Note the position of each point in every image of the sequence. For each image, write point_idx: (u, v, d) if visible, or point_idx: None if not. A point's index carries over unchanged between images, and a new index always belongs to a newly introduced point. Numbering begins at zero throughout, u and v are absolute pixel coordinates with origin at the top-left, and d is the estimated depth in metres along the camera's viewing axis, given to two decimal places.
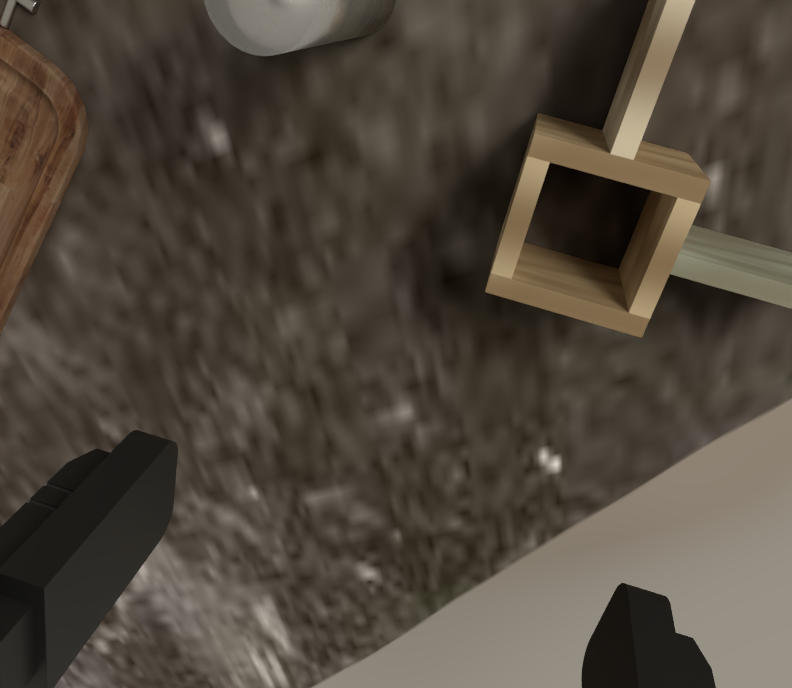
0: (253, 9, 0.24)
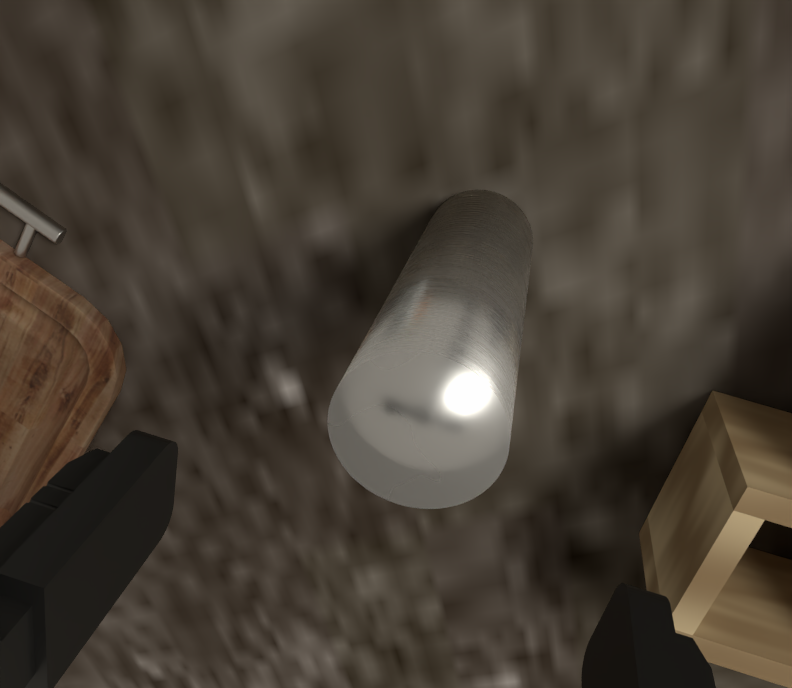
0: (405, 455, 0.16)
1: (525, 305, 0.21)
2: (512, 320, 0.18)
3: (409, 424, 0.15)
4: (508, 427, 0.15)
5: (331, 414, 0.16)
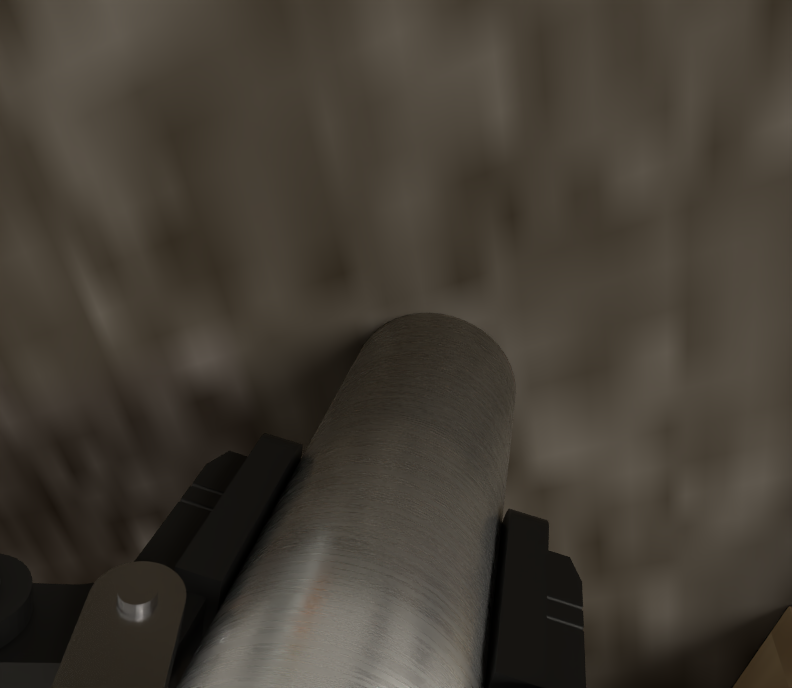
0: None
1: None
2: (462, 679, 0.09)
3: None
4: None
5: None
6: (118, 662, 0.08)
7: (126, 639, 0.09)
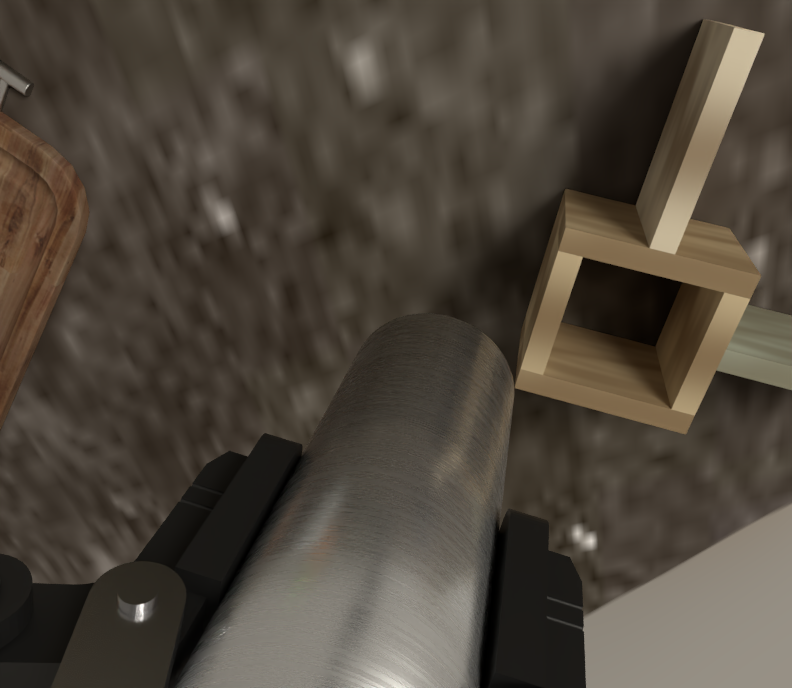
0: None
1: (494, 566, 0.12)
2: (458, 678, 0.09)
3: None
4: None
5: None
6: (118, 662, 0.08)
7: (126, 638, 0.09)
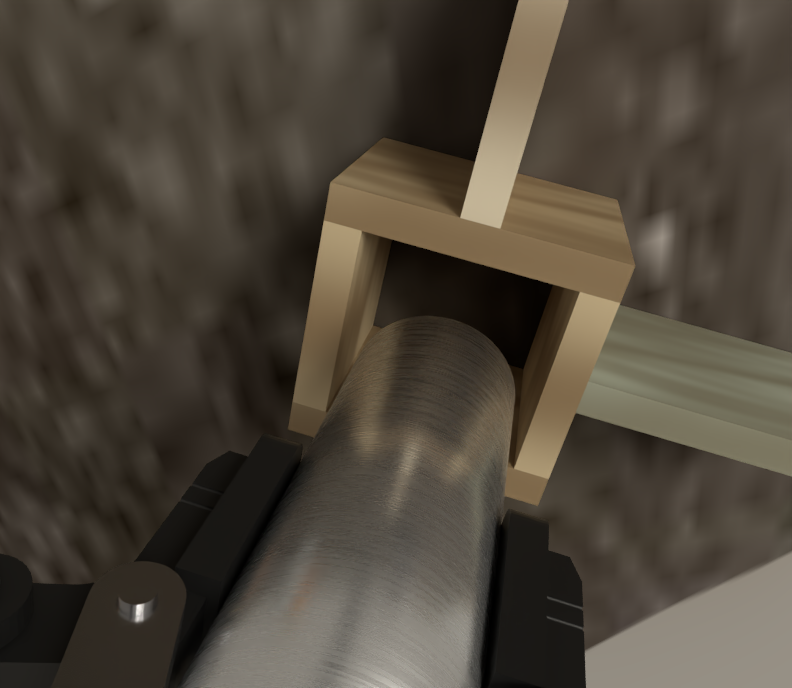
0: None
1: None
2: (461, 682, 0.09)
3: None
4: None
5: None
6: (118, 662, 0.08)
7: (126, 638, 0.09)
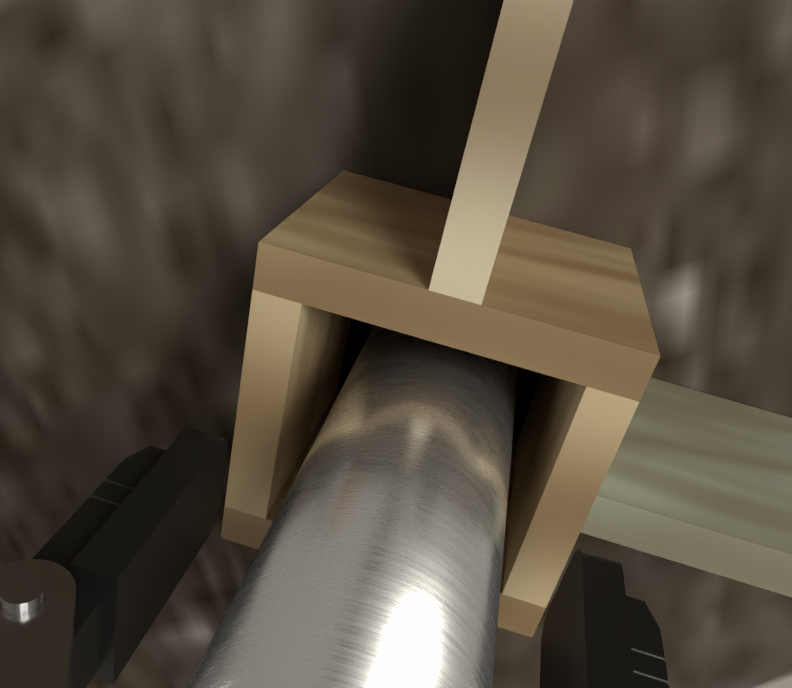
0: None
1: (510, 462, 0.14)
2: (489, 524, 0.12)
3: None
4: None
5: None
6: None
7: (17, 638, 0.08)
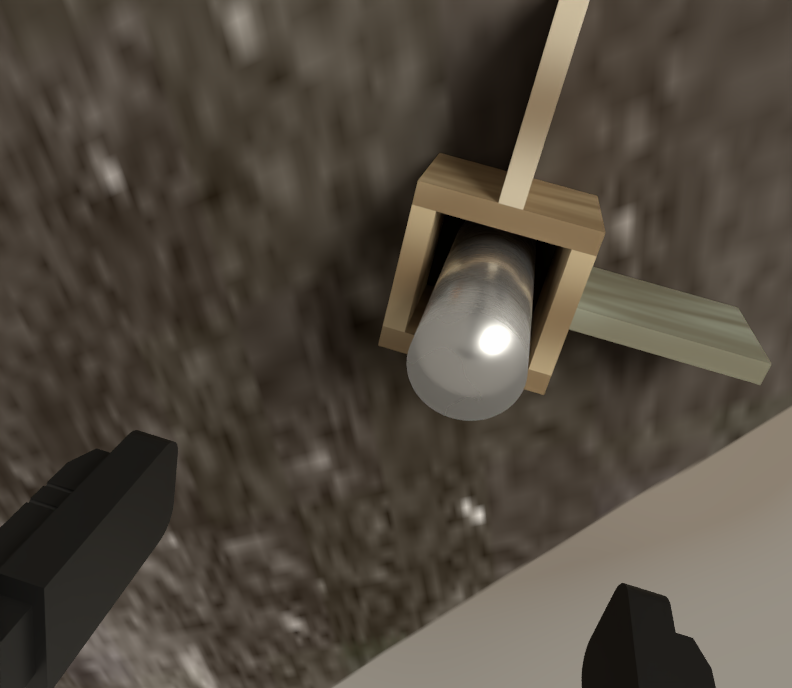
0: (458, 382, 0.24)
1: None
2: (526, 298, 0.27)
3: (462, 361, 0.23)
4: (527, 361, 0.23)
5: (409, 355, 0.24)
6: None
7: None
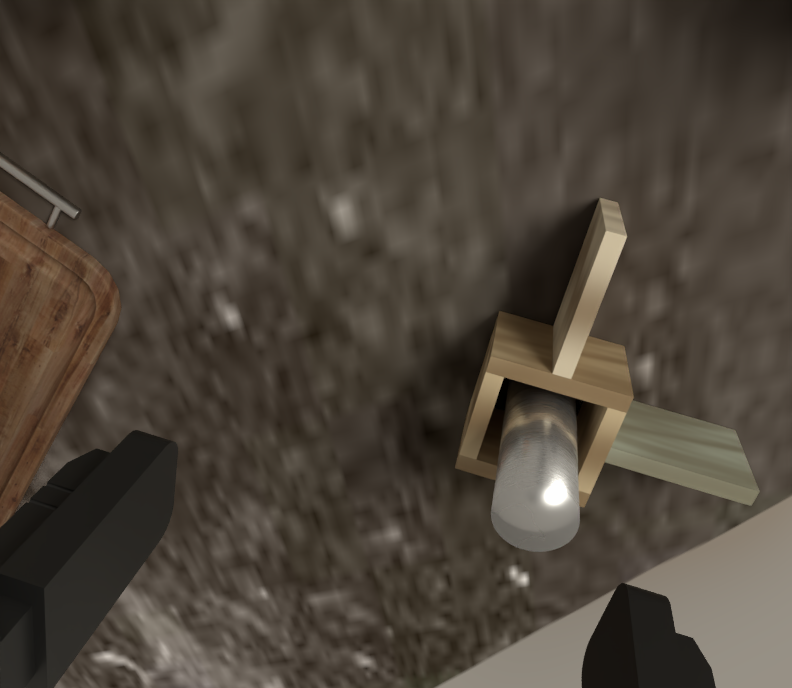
0: (528, 526, 0.33)
1: None
2: (574, 452, 0.36)
3: (532, 513, 0.33)
4: (579, 515, 0.32)
5: (493, 507, 0.33)
6: None
7: None
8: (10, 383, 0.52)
